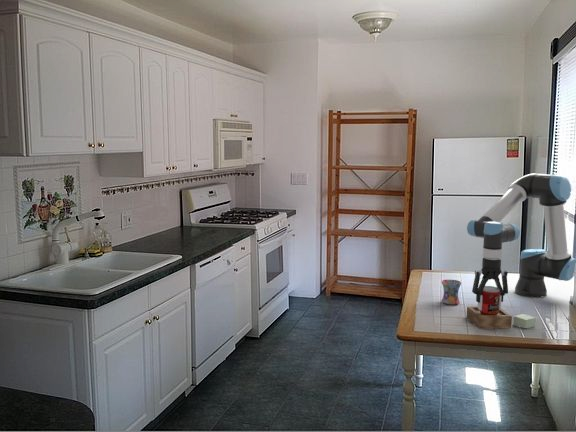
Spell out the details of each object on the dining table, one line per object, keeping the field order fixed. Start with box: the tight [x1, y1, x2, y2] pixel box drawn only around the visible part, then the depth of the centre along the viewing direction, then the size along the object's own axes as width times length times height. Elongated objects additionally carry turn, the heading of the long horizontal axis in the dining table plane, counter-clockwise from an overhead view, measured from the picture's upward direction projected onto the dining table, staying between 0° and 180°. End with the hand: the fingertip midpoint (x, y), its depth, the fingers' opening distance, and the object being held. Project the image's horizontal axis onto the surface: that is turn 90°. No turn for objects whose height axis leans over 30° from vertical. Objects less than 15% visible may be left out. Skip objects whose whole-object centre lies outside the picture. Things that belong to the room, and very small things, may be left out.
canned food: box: [480, 285, 500, 315], centre depth 237 cm, size 8×8×11 cm
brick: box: [513, 313, 536, 329], centre depth 235 cm, size 6×6×4 cm
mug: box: [441, 279, 462, 306], centre depth 267 cm, size 12×9×11 cm
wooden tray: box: [466, 305, 513, 329], centre depth 238 cm, size 14×14×5 cm
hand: (489, 309), depth 238 cm, fingers closed on canned food, 8 cm apart
